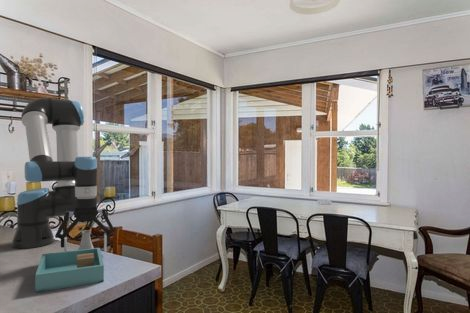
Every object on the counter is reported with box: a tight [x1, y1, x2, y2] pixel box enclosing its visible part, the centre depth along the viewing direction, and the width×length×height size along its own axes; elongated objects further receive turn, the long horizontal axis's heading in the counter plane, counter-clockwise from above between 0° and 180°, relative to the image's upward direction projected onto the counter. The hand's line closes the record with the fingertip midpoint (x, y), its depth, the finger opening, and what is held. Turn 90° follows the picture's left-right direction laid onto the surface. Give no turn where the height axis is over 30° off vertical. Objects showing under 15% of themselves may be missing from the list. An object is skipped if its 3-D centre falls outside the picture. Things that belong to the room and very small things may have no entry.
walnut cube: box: [77, 253, 94, 268], centre depth 104 cm, size 5×5×5 cm
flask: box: [77, 229, 95, 250], centre depth 119 cm, size 7×7×10 cm
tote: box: [34, 247, 105, 293], centre depth 103 cm, size 20×18×5 cm
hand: (86, 253), depth 119 cm, fingers open, 13 cm apart
